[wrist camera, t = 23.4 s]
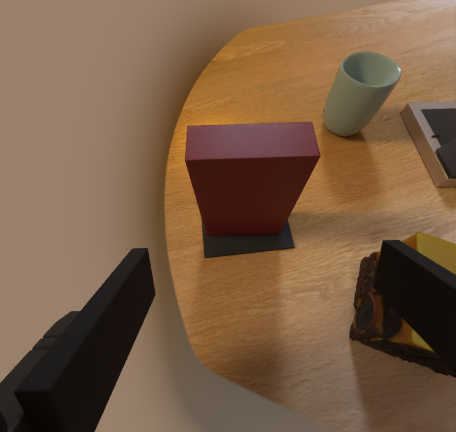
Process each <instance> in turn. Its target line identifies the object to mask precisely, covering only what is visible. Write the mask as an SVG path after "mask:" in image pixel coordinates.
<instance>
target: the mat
mask: <svg viewBox="0 0 456 432" xmlns="http://www.w3.org/2000/svg"><path fill="white" fill-rule="evenodd" d="M202 227H203V241H204V255H205V258H209V257H218V256H227V255H235V254H244V253H252V252H261V251H270V250H278V249H287V248H294V243H293V239H292V235H291V231H290V227H289V223H288V219H287V221H286V223H285V225H284V227H283V229H282V231H281V233H280V234H261V235H228V236H207V234H206V231H205V227H204V224H203V221H202Z"/></svg>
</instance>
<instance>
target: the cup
mask: <svg viewBox="0 0 456 432" xmlns="http://www.w3.org/2000/svg"><path fill="white" fill-rule="evenodd" d="M400 76H401V70H400V67H399V66H398V65H397V64H396V63H395V62H394V61H393V60H391V59H390V58H388V57H386V56H384V55H381V54H378V53H374V52H366V51H364V52H357V53H354V54H351V55H349V56H348V57H347V58H345V59H344V61H343V62H342V64H341V65H340V67H339V70H338V72H337V74H336V77H335V79H334V81H333V84H332V86H331V89H330V91H329V94H328V97H327V100H326V103H325V106H324V110H323V122H324V125H325V126H326V128H327V129H328V130H329V131H331V132H332V133H334V134H336V135H339V136H350V135H353V134H355V133H357V132H359V131H360V130H361V129H363V128H364V127H365V126H366V125H367V124H368V123H369V122H370V121H371V119H372V118H373V117H374V116H375V114H376V113H377V112H378V110H379V109H380V108H381V106H382V105H383V103H384V102H385V101H386V99H387V98H388V96H389V95H390V93H391V92H392V90H393V89H394V87H395V86H396V84H397V83H398V81H399V79H400Z"/></svg>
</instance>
